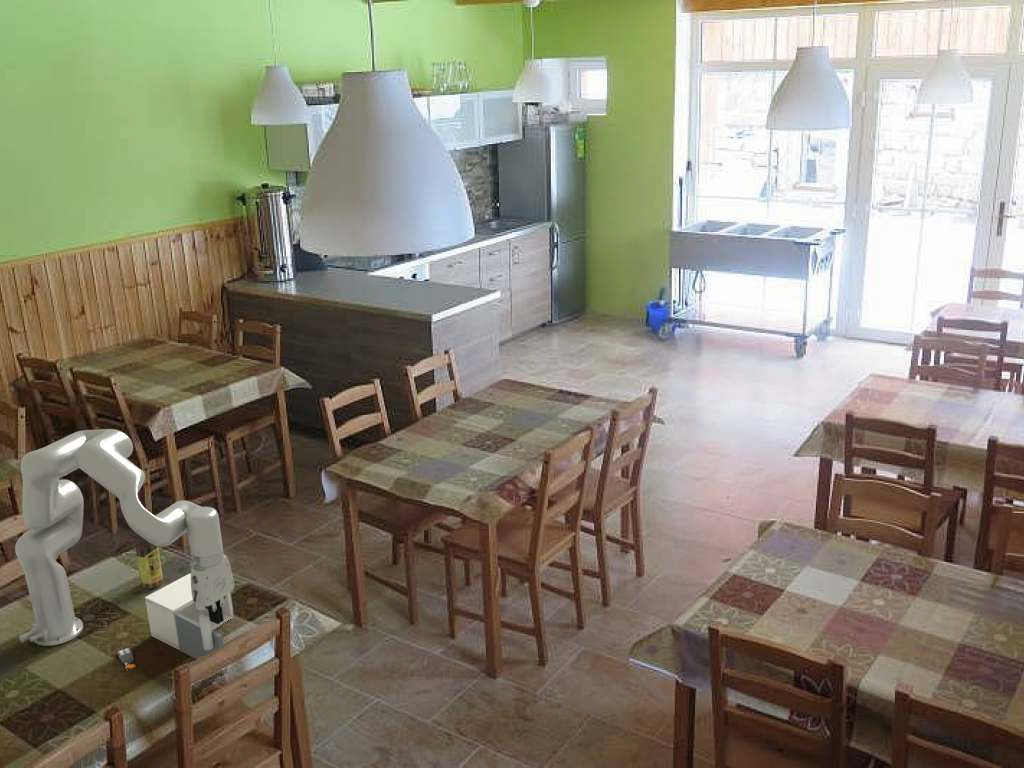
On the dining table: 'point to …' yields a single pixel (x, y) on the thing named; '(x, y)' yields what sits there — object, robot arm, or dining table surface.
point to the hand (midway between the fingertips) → (216, 621)
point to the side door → (197, 636)
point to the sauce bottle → (148, 563)
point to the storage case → (177, 609)
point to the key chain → (126, 657)
